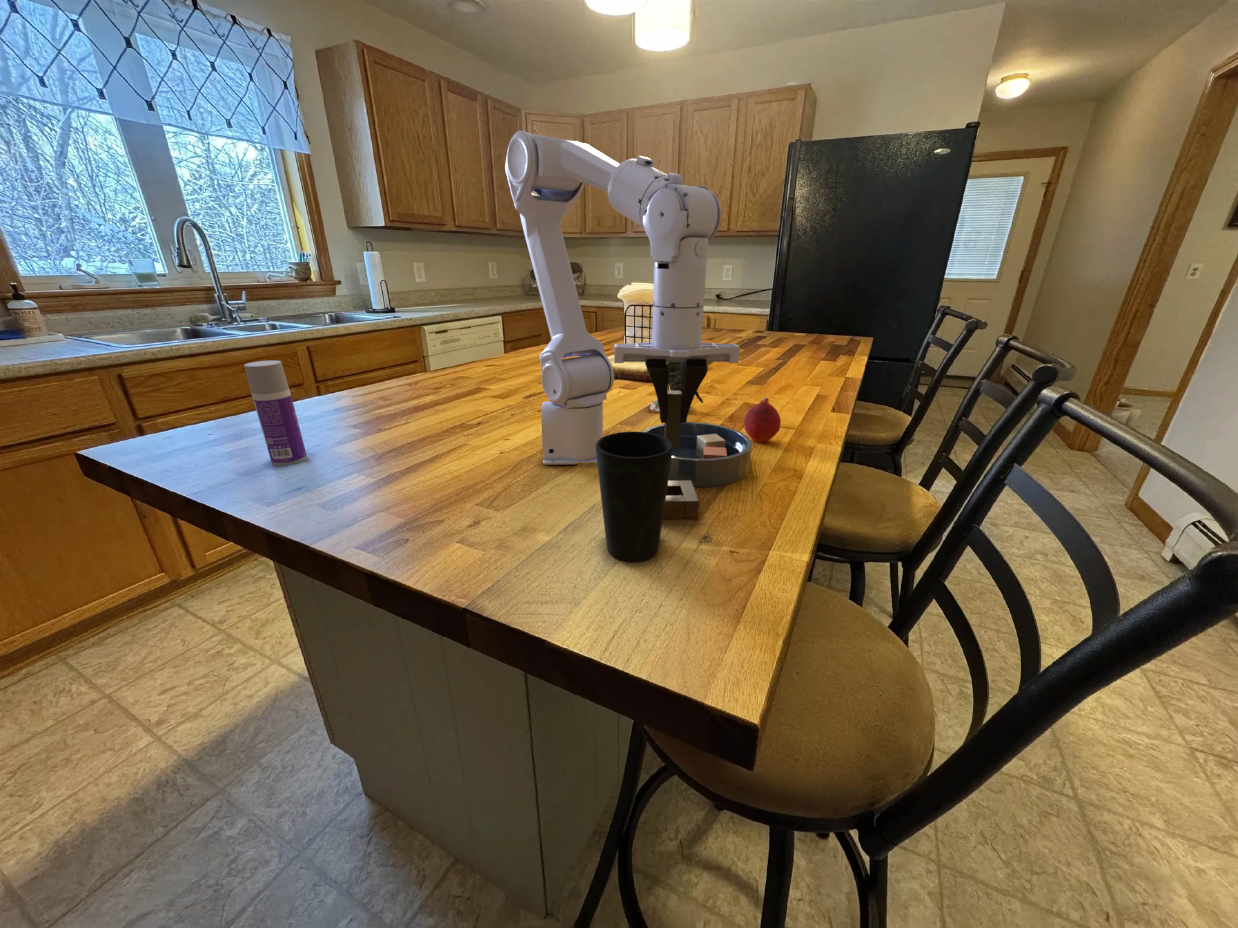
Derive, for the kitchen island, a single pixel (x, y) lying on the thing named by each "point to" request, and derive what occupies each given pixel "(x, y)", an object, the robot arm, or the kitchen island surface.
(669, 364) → the plant with pod
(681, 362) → the robot arm
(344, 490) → the kitchen island surface
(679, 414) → the long dark block
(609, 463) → the cup
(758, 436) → the onion
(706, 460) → the bowl
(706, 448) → the terracotta block
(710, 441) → the cream block
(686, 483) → the holder
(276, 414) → the container
